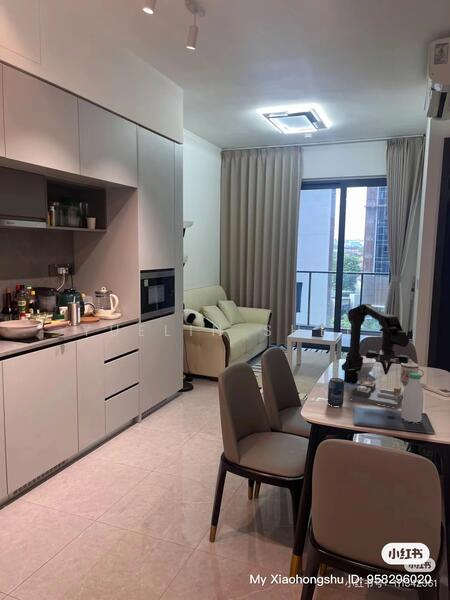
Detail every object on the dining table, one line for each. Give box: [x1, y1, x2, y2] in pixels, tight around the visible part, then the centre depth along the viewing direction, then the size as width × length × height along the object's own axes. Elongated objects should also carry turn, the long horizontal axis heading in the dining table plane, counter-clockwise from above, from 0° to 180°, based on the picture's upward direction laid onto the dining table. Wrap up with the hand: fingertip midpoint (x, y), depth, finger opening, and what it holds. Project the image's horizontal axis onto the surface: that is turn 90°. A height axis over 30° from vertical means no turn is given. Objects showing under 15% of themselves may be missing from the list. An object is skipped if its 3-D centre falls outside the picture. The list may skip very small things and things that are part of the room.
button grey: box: [356, 385, 367, 392], centre depth 205 cm, size 4×4×2 cm
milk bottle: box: [401, 372, 424, 423], centre depth 178 cm, size 8×8×20 cm
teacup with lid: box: [399, 359, 425, 383], centre depth 234 cm, size 12×9×12 cm
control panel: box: [348, 379, 404, 409], centre depth 206 cm, size 21×20×4 cm
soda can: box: [327, 377, 345, 407], centre depth 195 cm, size 7×7×12 cm
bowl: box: [358, 355, 377, 377], centre depth 247 cm, size 16×16×9 cm
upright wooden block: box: [393, 385, 402, 398], centre depth 202 cm, size 2×5×4 cm, turn 150°
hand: (386, 374), depth 205 cm, fingers closed
